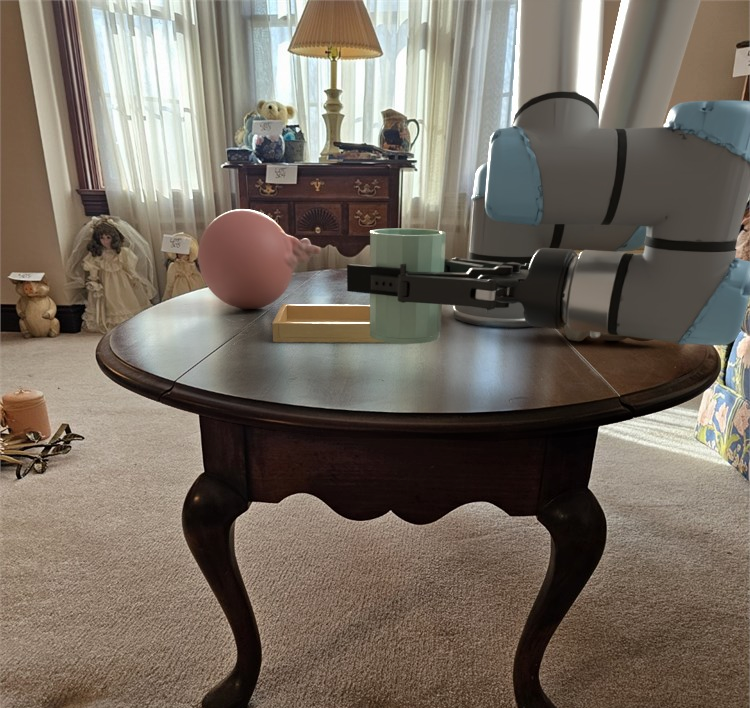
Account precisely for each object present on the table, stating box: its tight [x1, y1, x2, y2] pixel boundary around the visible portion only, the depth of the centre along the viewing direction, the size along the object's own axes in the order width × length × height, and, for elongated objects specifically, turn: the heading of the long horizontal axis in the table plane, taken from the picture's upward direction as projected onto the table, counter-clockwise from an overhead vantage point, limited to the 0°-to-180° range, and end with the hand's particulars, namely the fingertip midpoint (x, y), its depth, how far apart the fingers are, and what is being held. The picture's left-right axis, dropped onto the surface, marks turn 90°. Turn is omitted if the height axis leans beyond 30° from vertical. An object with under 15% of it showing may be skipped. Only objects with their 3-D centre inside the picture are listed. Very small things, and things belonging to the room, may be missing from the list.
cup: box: [369, 227, 447, 345], centre depth 72 cm, size 8×8×11 cm
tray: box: [271, 304, 388, 344], centre depth 95 cm, size 18×14×3 cm
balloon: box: [197, 208, 322, 310], centre depth 107 cm, size 15×20×15 cm
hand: (368, 272), depth 73 cm, fingers closed on cup, 8 cm apart
